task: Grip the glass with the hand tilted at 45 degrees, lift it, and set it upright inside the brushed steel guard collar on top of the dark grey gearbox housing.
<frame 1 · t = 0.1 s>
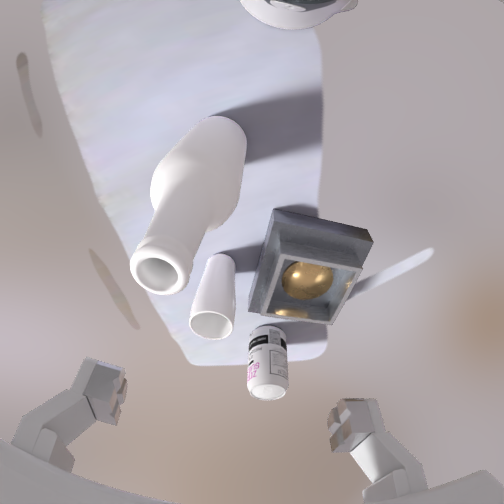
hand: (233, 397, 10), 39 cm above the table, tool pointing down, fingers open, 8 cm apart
drinking glass: (221, 263, 56), on the table
supplement can: (267, 334, 68), on the table
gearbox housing: (305, 265, 56), on the table
white bottle: (217, 142, 43), on the table
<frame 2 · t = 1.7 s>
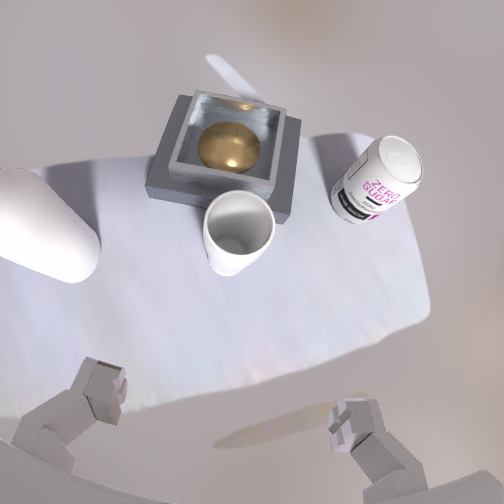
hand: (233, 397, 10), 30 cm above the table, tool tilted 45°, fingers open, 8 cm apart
drinking glass: (227, 258, 43), on the table
supplement can: (351, 203, 48), on the table
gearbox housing: (226, 160, 46), on the table
white bottle: (76, 254, 39), on the table
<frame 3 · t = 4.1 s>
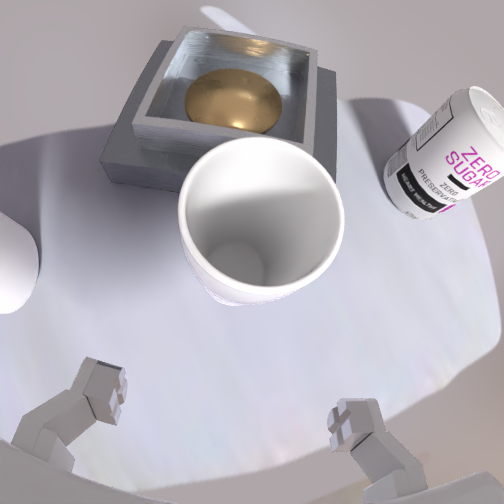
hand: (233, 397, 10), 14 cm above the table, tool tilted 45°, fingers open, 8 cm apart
drinking glass: (232, 275, 26), on the table
supplement can: (408, 189, 31), on the table
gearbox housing: (230, 126, 30), on the table
white bottle: (11, 270, 23), on the table
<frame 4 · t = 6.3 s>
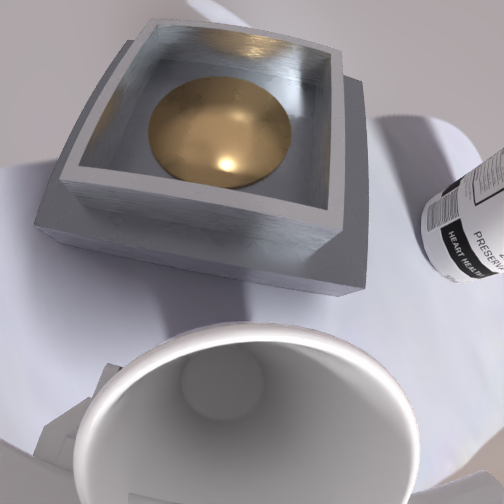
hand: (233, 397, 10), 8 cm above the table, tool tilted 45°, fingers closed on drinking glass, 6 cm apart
drinking glass: (221, 377, 18), on the table, touching gripper
supplement can: (447, 240, 23), on the table
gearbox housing: (217, 158, 22), on the table
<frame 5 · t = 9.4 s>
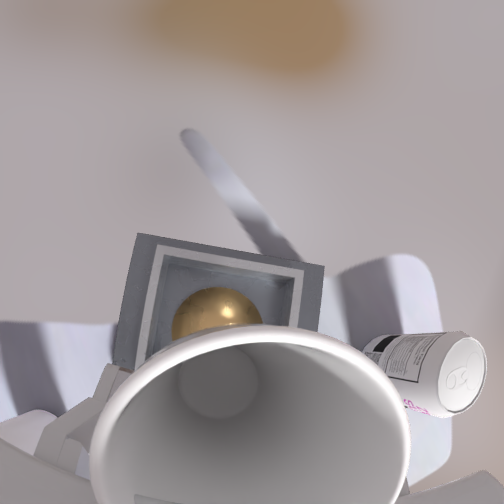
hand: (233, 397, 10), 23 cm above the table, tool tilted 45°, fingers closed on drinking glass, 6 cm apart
drinking glass: (216, 376, 19), point 14 cm above the table, touching gripper
supplement can: (381, 366, 34), on the table
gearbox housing: (216, 332, 33), on the table
white bottle: (51, 439, 26), on the table
when the fingers open (14 cm above the table, at t = 12.6 s): drinking glass moves 2 cm, resting on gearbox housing.
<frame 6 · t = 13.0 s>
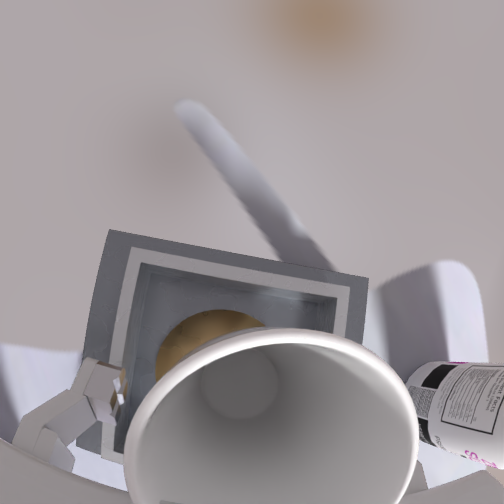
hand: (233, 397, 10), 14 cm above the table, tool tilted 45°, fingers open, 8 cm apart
drinking glass: (238, 378, 19), point 4 cm above the table, touching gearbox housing, gripper
supplement can: (423, 398, 25), on the table
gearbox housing: (219, 367, 23), on the table
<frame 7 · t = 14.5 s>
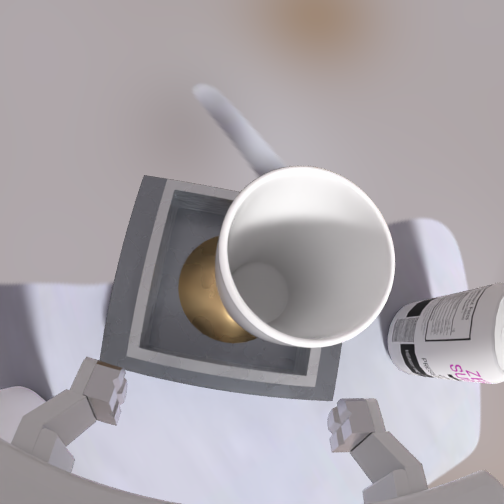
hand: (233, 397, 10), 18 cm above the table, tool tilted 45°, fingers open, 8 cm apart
drinking glass: (253, 295, 25), point 4 cm above the table, touching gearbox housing
supplement can: (411, 338, 30), on the table
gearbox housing: (230, 293, 29), on the table
white bottle: (33, 422, 22), on the table
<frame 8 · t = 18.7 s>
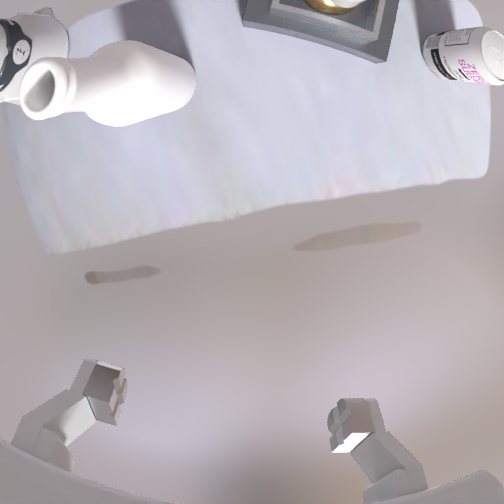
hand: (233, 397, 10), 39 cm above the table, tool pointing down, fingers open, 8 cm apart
supplement can: (440, 56, 34), on the table
white bottle: (168, 83, 39), on the table
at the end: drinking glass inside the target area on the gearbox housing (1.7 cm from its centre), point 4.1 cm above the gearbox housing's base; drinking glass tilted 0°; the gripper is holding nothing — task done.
